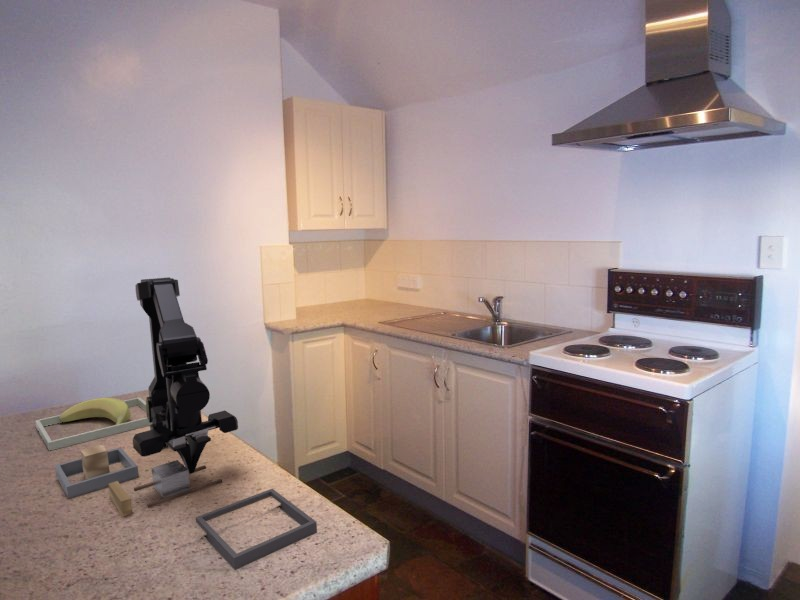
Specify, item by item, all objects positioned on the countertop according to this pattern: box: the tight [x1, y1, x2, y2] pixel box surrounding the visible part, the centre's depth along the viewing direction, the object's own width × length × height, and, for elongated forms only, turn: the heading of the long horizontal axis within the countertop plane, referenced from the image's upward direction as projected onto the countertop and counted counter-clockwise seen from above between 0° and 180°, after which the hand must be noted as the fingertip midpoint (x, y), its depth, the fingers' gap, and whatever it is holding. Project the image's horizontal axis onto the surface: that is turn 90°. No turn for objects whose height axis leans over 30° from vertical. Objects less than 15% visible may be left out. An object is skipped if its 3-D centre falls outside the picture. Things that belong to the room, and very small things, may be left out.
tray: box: [54, 447, 140, 499], centre depth 114 cm, size 13×13×4 cm
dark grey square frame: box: [195, 488, 318, 571], centre depth 95 cm, size 15×16×2 cm
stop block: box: [80, 444, 110, 480], centre depth 114 cm, size 4×4×6 cm
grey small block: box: [150, 459, 191, 499], centre depth 108 cm, size 5×6×4 cm
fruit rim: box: [35, 396, 152, 452], centre depth 146 cm, size 26×20×2 cm
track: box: [108, 464, 224, 517], centre depth 107 cm, size 21×9×4 cm, turn 130°
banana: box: [59, 397, 132, 425], centre depth 145 cm, size 14×6×20 cm
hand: (191, 472), depth 110 cm, fingers closed
